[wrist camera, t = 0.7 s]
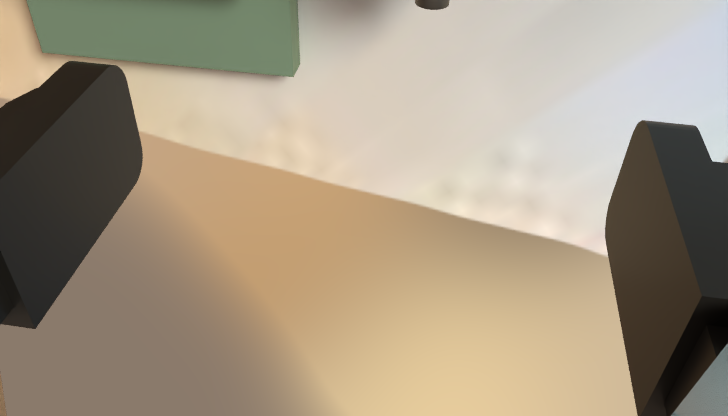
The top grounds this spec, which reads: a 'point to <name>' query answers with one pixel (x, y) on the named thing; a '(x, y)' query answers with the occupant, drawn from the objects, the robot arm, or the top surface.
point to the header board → (175, 32)
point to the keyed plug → (432, 4)
